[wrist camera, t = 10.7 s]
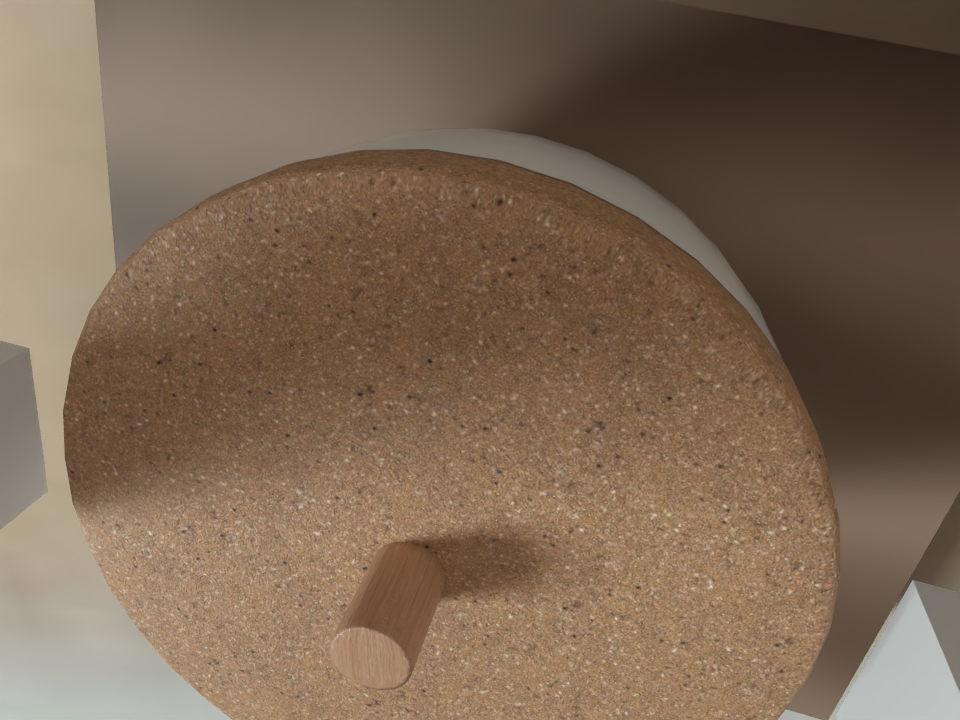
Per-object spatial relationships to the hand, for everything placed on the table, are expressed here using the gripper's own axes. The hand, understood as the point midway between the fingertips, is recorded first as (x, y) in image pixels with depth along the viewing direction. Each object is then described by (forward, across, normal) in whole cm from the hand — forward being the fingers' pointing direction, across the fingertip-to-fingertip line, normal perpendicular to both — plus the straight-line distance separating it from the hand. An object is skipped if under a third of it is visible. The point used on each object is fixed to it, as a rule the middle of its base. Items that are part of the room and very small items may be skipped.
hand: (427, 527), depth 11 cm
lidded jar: (+7, 0, 0) cm, 7 cm away
